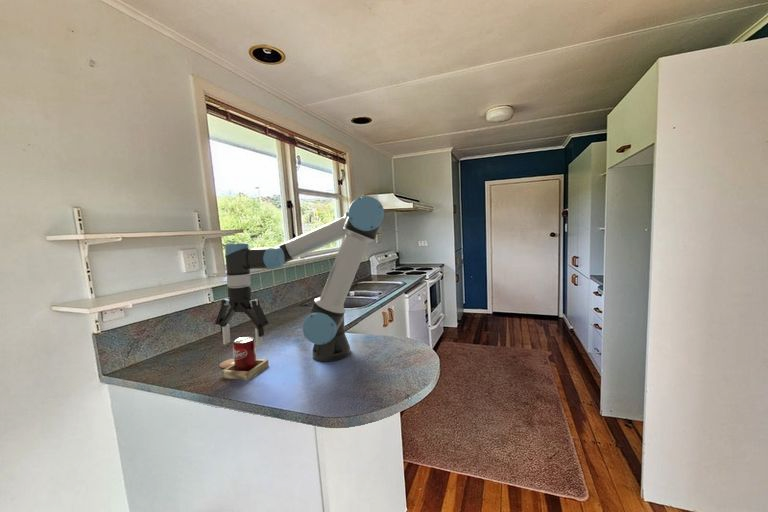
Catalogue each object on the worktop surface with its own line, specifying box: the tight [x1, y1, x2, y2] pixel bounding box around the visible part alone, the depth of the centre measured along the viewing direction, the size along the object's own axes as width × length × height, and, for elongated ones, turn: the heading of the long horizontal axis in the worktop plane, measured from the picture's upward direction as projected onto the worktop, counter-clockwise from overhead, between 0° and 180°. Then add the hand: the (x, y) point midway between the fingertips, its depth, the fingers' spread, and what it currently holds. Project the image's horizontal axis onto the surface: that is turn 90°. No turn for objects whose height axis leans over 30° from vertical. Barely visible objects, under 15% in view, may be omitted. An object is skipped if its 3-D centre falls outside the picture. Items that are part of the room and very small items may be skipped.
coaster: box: [219, 358, 234, 369], centre depth 118 cm, size 8×8×1 cm
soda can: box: [232, 336, 257, 371], centre depth 110 cm, size 7×7×12 cm
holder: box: [221, 358, 270, 381], centre depth 110 cm, size 11×11×2 cm
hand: (243, 344), depth 109 cm, fingers open, 13 cm apart
